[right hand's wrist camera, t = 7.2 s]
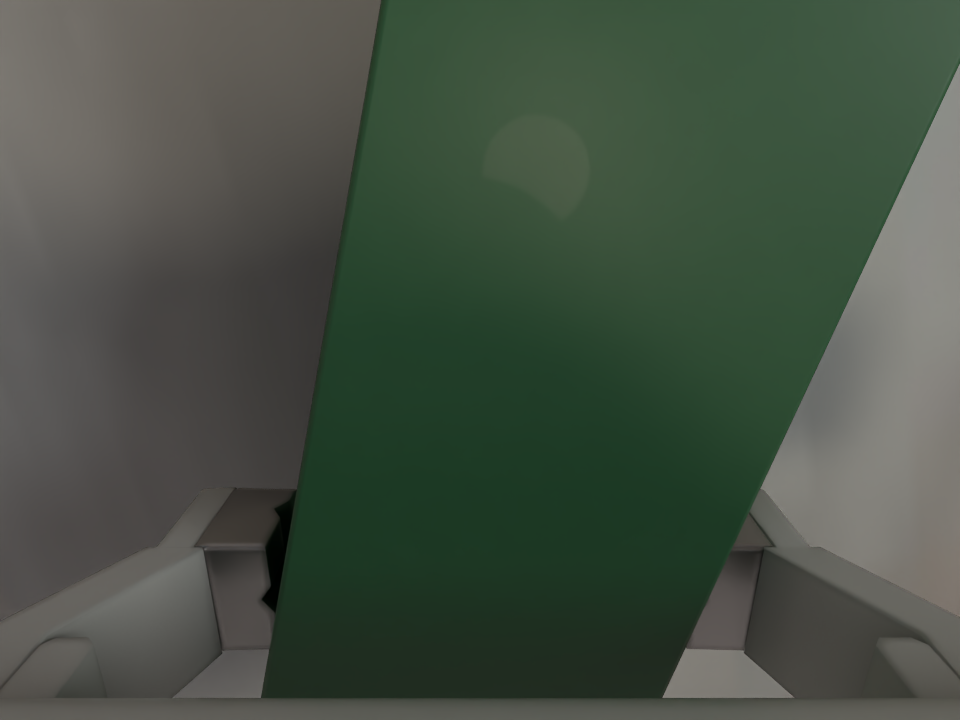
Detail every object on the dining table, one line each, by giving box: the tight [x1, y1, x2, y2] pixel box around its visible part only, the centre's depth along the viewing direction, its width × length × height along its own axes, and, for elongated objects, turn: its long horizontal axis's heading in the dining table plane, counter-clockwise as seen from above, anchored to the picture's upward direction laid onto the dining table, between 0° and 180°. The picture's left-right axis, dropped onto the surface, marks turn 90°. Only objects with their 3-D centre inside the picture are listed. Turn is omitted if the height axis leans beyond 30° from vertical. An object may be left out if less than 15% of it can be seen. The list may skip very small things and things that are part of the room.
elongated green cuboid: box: [261, 0, 960, 698], centre depth 10 cm, size 17×5×8 cm, turn 166°
